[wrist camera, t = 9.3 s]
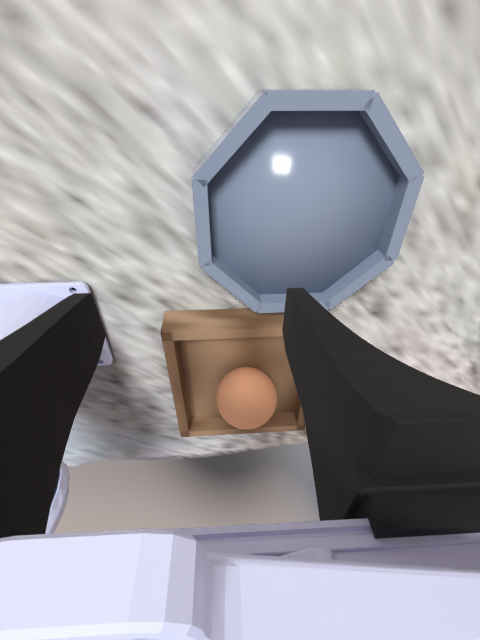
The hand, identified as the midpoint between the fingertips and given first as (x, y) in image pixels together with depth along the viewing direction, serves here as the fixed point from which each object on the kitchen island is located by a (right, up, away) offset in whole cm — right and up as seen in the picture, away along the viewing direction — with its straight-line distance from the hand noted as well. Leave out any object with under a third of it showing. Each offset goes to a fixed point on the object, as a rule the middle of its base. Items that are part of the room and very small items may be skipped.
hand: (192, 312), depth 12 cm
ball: (+2, -7, +14) cm, 16 cm away
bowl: (+5, +7, +8) cm, 12 cm away
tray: (+2, -5, +17) cm, 17 cm away
